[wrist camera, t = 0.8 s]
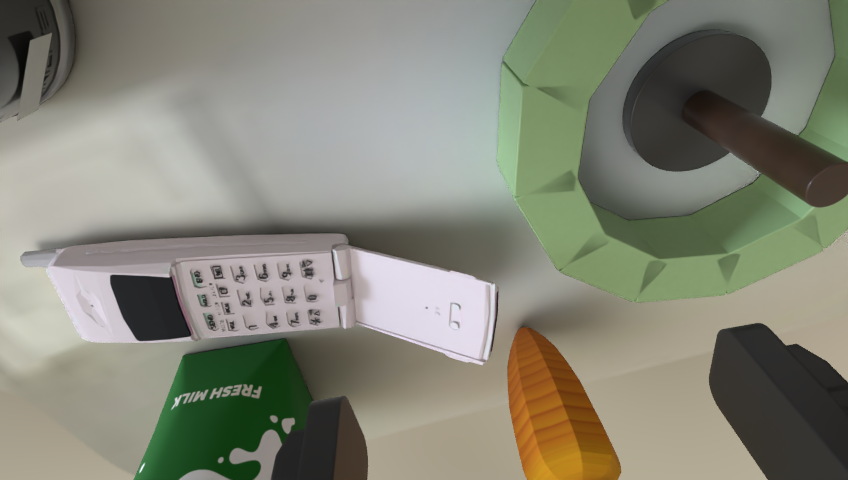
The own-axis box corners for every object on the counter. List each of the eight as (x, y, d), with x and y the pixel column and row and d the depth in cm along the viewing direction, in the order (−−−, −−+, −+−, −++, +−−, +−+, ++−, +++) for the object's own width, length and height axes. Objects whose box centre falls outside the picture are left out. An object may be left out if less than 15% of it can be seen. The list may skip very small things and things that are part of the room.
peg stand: (595, 131, 26) (691, 227, 18) (689, 1, 22) (859, 47, 14) (689, 182, 28) (812, 287, 20) (787, 70, 25) (981, 143, 17)
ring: (429, 184, 27) (436, 222, 23) (691, -269, 17) (765, -313, 14) (688, 297, 33) (723, 340, 30) (981, 9, 24) (1079, 24, 20)
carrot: (561, 296, 32) (678, 539, 19) (556, 349, 35) (656, 591, 22) (486, 305, 32) (556, 555, 19) (487, 357, 35) (549, 605, 22)
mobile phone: (493, 367, 26) (6, 397, 24) (474, 297, 31) (68, 318, 29) (503, 279, 23) (-57, 305, 21) (480, 217, 28) (25, 234, 26)
